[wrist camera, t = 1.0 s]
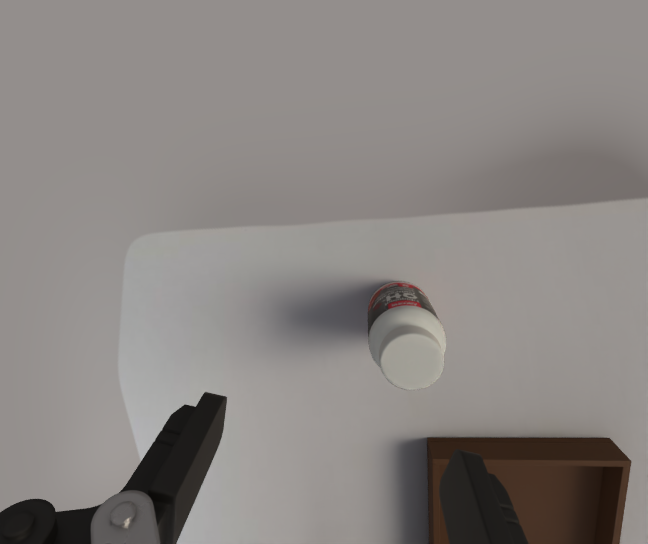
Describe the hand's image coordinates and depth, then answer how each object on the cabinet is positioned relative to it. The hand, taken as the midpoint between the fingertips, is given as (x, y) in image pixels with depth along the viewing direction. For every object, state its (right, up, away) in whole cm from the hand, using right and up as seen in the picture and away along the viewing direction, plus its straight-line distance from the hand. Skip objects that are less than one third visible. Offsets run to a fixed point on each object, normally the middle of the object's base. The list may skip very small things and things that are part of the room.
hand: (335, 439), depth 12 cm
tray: (+19, -20, +24) cm, 36 cm away
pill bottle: (+6, +3, +20) cm, 21 cm away
